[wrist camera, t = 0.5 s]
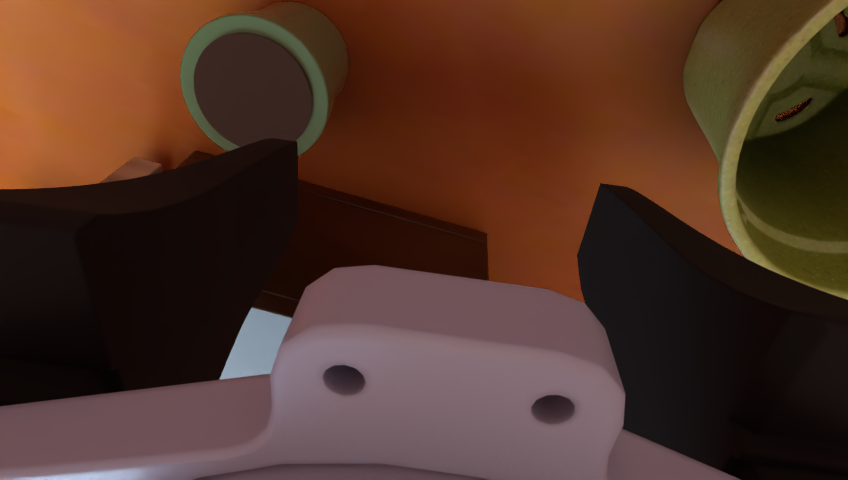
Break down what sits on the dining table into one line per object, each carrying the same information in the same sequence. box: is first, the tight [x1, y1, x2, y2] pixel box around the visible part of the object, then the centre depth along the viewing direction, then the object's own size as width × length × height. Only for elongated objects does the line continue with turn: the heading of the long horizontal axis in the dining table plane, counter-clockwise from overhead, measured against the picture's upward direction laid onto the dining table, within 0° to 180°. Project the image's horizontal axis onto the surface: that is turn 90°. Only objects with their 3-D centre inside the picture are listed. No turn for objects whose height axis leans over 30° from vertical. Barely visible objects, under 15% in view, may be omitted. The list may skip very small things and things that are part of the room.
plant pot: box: [683, 0, 848, 300], centre depth 16 cm, size 9×9×9 cm
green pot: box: [180, 1, 349, 156], centre depth 19 cm, size 5×5×5 cm
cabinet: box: [177, 151, 489, 380], centre depth 24 cm, size 14×12×9 cm
